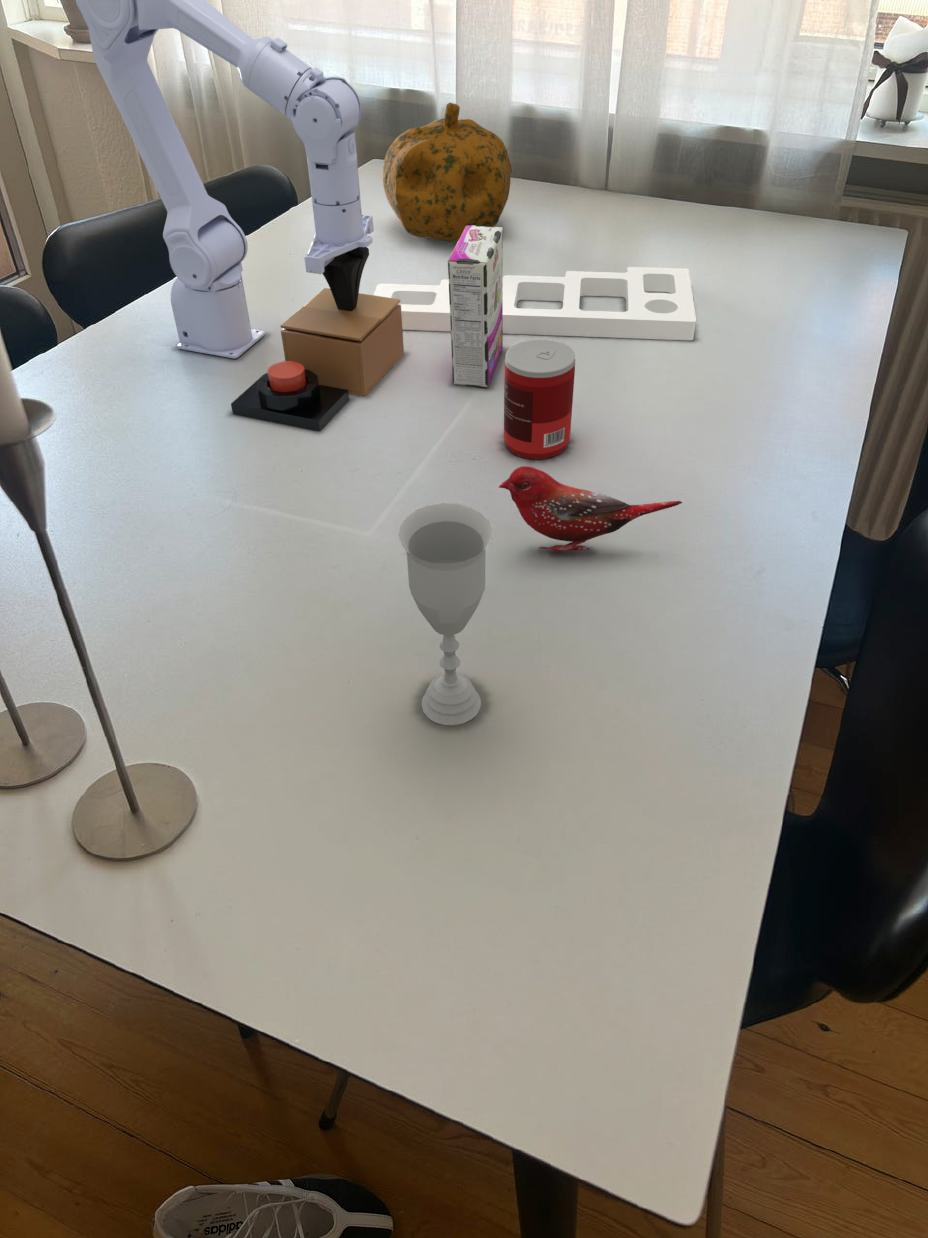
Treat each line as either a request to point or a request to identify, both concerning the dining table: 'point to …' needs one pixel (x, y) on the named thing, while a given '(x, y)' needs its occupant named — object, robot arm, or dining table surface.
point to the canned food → (538, 398)
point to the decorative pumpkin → (447, 177)
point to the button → (287, 376)
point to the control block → (292, 403)
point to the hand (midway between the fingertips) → (347, 308)
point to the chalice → (447, 594)
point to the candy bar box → (476, 305)
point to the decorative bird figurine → (570, 509)
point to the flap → (365, 304)
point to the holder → (569, 304)
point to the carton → (344, 346)
